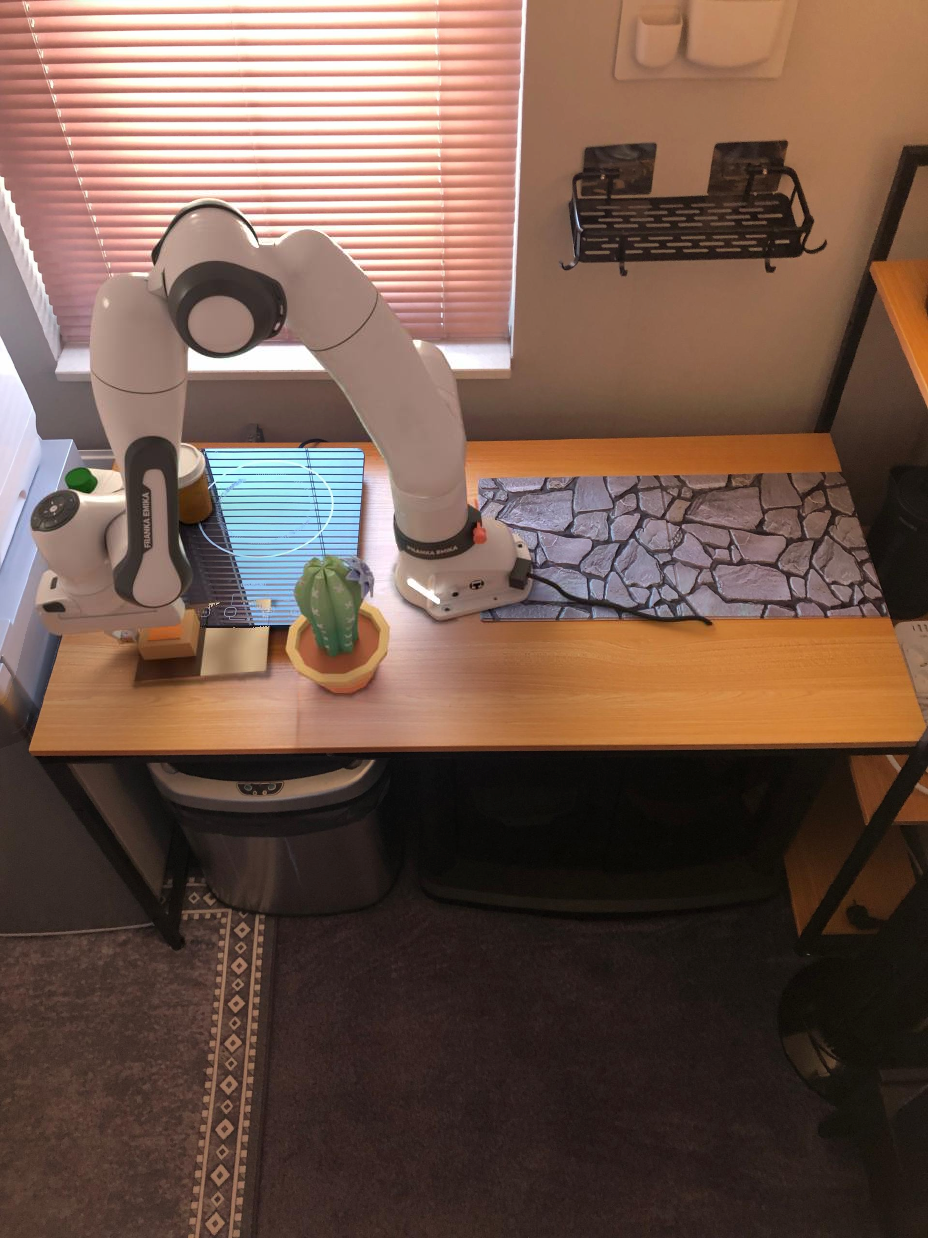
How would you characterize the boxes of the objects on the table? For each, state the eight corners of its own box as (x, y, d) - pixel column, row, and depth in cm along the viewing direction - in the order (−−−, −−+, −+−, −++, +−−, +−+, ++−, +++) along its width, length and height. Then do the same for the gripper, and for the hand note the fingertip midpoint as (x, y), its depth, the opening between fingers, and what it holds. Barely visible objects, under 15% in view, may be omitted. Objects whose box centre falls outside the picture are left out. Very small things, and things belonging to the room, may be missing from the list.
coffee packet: (200, 622, 150) (194, 608, 147) (196, 656, 146) (189, 642, 143) (149, 626, 150) (142, 612, 147) (144, 660, 146) (136, 647, 143)
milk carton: (120, 540, 163) (76, 454, 147) (169, 546, 161) (130, 460, 145) (98, 579, 158) (50, 495, 142) (148, 586, 156) (106, 501, 140)
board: (272, 602, 153) (271, 598, 152) (267, 675, 144) (265, 670, 144) (149, 612, 153) (146, 608, 152) (137, 685, 144) (134, 681, 144)
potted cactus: (376, 722, 139) (352, 621, 119) (279, 699, 142) (240, 596, 122) (409, 639, 147) (392, 531, 127) (318, 618, 150) (287, 510, 130)
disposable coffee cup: (216, 530, 163) (197, 480, 153) (162, 531, 163) (139, 481, 154) (225, 490, 169) (207, 439, 159) (172, 491, 169) (151, 441, 159)
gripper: (172, 561, 138) (198, 618, 149) (32, 573, 138) (69, 629, 149) (167, 595, 134) (194, 651, 145) (23, 607, 134) (61, 662, 145)
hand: (130, 640), depth 147 cm, fingers closed
